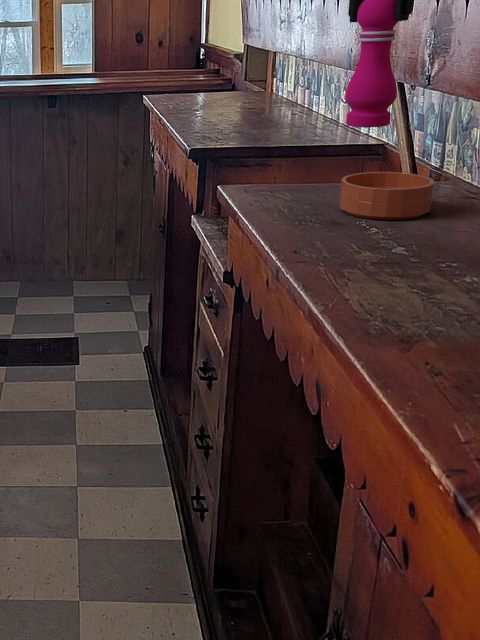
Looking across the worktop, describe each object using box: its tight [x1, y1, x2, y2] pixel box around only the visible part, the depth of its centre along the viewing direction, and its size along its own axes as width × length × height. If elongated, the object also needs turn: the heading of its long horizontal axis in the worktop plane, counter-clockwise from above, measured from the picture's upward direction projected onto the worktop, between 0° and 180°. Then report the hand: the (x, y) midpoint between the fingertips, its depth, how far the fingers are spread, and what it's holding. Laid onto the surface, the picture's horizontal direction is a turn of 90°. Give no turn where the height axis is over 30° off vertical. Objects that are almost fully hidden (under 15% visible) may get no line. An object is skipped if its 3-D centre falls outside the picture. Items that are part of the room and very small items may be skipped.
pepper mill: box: [344, 0, 399, 129], centre depth 128 cm, size 7×7×20 cm
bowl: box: [338, 171, 436, 221], centre depth 139 cm, size 14×14×5 cm
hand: (378, 20), depth 127 cm, fingers closed on pepper mill, 6 cm apart
